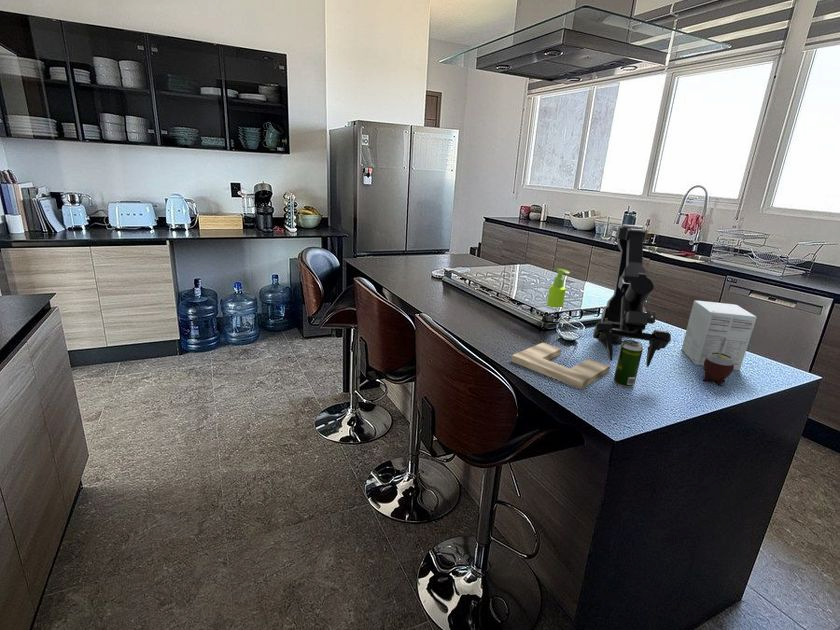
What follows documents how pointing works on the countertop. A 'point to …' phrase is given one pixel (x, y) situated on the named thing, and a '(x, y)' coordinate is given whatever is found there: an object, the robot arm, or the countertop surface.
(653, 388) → the countertop surface
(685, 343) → the supplement box
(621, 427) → the countertop surface
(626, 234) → the robot arm
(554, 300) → the soap dispenser
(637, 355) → the green drink can
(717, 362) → the mate gourd
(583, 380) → the tan u-shaped bracket
